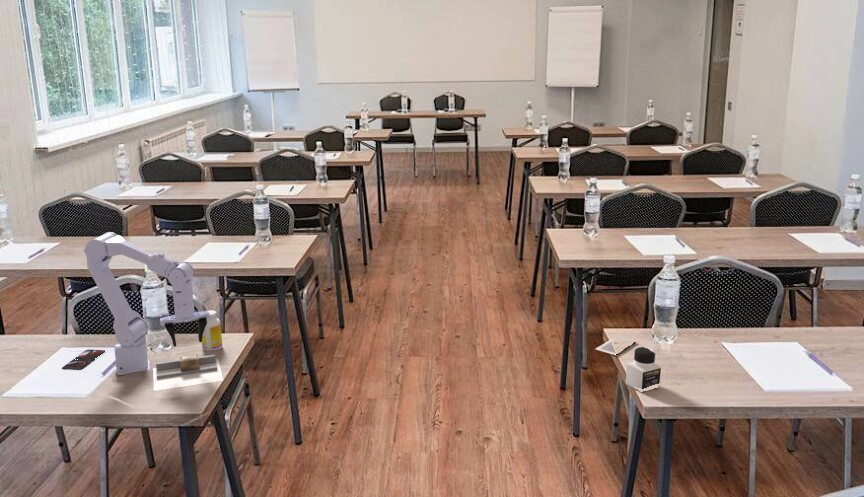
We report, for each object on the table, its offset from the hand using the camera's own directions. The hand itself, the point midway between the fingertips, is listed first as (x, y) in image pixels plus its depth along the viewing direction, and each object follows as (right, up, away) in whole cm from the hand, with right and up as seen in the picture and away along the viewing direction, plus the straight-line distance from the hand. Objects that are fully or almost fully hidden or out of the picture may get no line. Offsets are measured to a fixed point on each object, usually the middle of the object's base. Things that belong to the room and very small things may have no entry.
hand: (187, 343), depth 233 cm
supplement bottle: (+2, -4, +20) cm, 20 cm away
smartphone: (-37, -7, +11) cm, 40 cm away
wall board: (0, -10, -1) cm, 10 cm away
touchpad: (+139, -4, +20) cm, 140 cm away
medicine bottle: (+140, -12, -8) cm, 140 cm away
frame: (0, -9, +2) cm, 9 cm away
